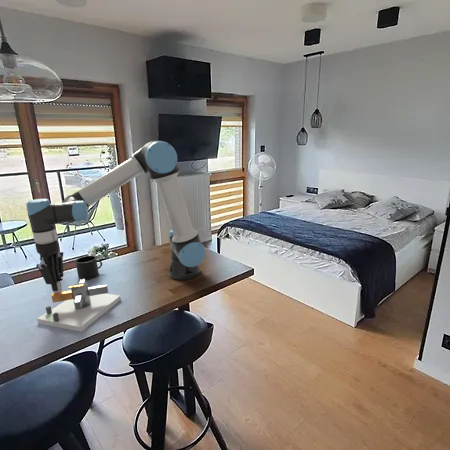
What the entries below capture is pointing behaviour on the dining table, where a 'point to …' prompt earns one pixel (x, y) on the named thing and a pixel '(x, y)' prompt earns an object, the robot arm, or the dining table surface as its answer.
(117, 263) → the dining table surface
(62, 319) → the stand plate
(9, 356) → the dining table surface
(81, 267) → the mug
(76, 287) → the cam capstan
